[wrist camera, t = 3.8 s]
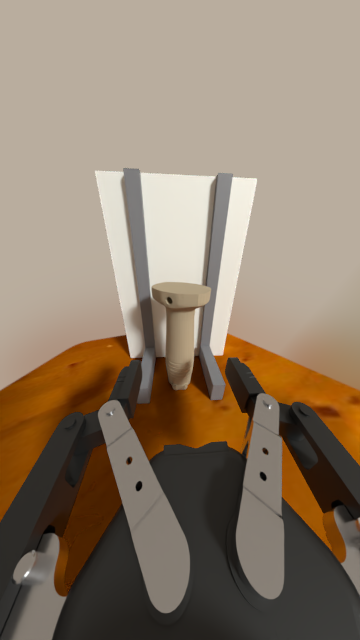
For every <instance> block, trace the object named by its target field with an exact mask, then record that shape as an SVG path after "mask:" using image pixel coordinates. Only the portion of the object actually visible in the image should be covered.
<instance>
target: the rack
mask: <svg viewBox="0 0 360 640" xmlns="http://www.w3.org/2000/svg"><path fill="white" fill-rule="evenodd" d="M123 170H124V172H111V171H95V175H96V180H97V185H98V190H99V195H100V201H101V206H102V210H103V216H104V221H105V227H106V232H107V237H108V242H109V247H110V253H111V258H112V263H113V268H114V273H115V279H116V284H117V289H118V294H119V300H120V304H121V310H122V315H123V320H124V326H125V331H126V336H127V341H128V346H129V352H130V357H131V358H143V359H142V363H141V366H142V382H141V386H140V390H139V395H138V399H137V403H138V404H141V403H150V397H151V390H152V382H153V375H154V368H155V361H156V357H165V350H166V308H165V306H164V305H162V304H160V303H159V302H157V301H156V300H155V299H154V298H153V297H152V288H151V287H152V286H153V285H155V284H158V283H163V282H184V283H193V284H199V285H203V286H207V287H210V288H211V294H210V300H209V302H208V303H207V304H205V305H204V306H202V307H199V308H196V309H195V316H194V356H199V358H200V362H201V366H202V370H203V373H204V377H205V381H206V384H207V388H208V392H209V396H210V399H211V400H219V399H222V397H223V393H224V388H225V383H224V380H223V378H222V375H221V373H220V370H219V368H218V365H217V363H216V361H215V358H214V356H213V355H223V351H224V346H225V340H226V335H227V330H228V324H229V320H230V315H231V309H232V305H233V300H234V295H235V290H236V285H237V279H238V275H239V270H240V264H241V259H242V254H243V249H244V244H245V239H246V234H247V228H248V224H249V219H250V213H251V209H252V204H253V199H254V194H255V188H256V183H257V179H254V178H233V174H227V173H218V175H217V176H216V177H214V176H193V175H173V174H153V173H152V174H151V173H140V171H139V169H129V168H128V169H127V168H124V169H123Z"/></svg>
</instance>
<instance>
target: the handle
mask: <svg viewBox="0 0 360 640" xmlns="http://www.w3.org/2000/svg"><path fill="white" fill-rule="evenodd" d="M151 288H152V297H153V298H154V299H155V300H156V301H157V302H159V303H160V304H162V305H164V306H165V308H166V350H165V358H166V368H167V373H168V380H169V383H170V384H171V385H172V388H173V389H174V390H179V389H182V390H185V389H186V388H187V385H188V384H189V383H190V380H191V374H192V370H193V364H194V316H195V309H196V308H199V307H202V306H204V305H205V304H207V303H208V302H209V300H210V294H211V288H210V287H207V286H203V285H199V284H193V283H184V282H163V283H158V284H155V285H153V286H152V287H151Z"/></svg>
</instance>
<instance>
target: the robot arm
mask: <svg viewBox="0 0 360 640" xmlns="http://www.w3.org/2000/svg"><path fill="white" fill-rule="evenodd" d="M225 374H226V377H227V379H228V382H229V384H230V386H231V389H232V391H233V393H234V396H235V398H236V400H237V402H238V405H239V407H240V409H241V412H242V413H248V416H249V417H248V421H247V426H246V431H245V435H244V440H243V444H242V447H241V451H240V453H239V452H238V451H236V450H235V449H233V448H230V447H228V445H227V442H226V441H224V442H211V443H209V444H206V445H204V446H202V447H199V448H196V449H195V448H191V447H188V446H184V445H180V444H177V445H164V451H162V452H160V453H158V454H156V455H155V456H154V457H153V458H152V459H151V460H150V461H148V459H147V457H146V455H145V453H144V450H143V448H142V446H141V444H140V442H139V440H138V438H137V436H136V434H135V431H134V430H133V428H132V427H131V425H130V423H129V421H128V420H129V418H133V417H134V412H135V408H136V404H137V399H138V395H139V390H140V386H141V382H142V366H141V361H140V360H132V361H131V362H130V365H129V367H124V368H123V369H122V370H121V372H120V374H119V376H118V379H117V382H116V384H115V386H114V388H113V391H112V393H111V395H110V398H109V400H108V402H106V403H105V404H104V405H103V406H102V407H101V408H100V409H99V410H97V411H95V412H92V413H89V414H86V415H84V416H83V414H82V413H80V412H75V413H72V414H70V415H68V416H66V417H65V418H64V419H63V420H62V421H61V422H60V423H59V425H58V426H57V428H56V430H55V431H54V433H53V435H52V436H51V438H50V440H49V441H48V443H47V445H46V446H45V448H44V450H43V451H42V453H41V455H40V456H39V458H38V460H37V462H36V463H35V465H34V467H33V468H32V470H31V472H30V473H29V475H28V477H27V478H26V480H25V482H24V483H23V485H22V487H21V488H20V490H19V492H18V494H17V495H16V497H15V499H14V500H13V502H12V504H11V505H10V507H9V509H8V510H7V512H6V514H5V515H4V517H3V519H2V520H1V522H0V640H360V466H359V465H358V463H357V462H356V461H355V460H354V459H353V457H352V456H351V455H350V454H349V453H348V451H347V450H346V449H345V448H344V447H343V445H342V444H341V443H340V442H339V441H338V439H337V438H336V437H335V436H334V435H333V433H332V432H331V431H330V430H329V429H328V427H327V426H326V425H325V424H324V423H323V421H322V420H321V419H320V418H319V417H318V415H317V414H316V413H315V412H314V411H313V410H312V409H311V408H310V407H309V406H307V405H305V404H303V403H301V402H294V403H293V404H292V405H291V406H290V405H286V404H282V403H279V402H277V401H276V400H275V399H274V398H273V397H271V396H270V395H268V394H266V393H265V392H264V390H263V389H262V387H261V386H260V384H259V383H258V381H257V380H256V378H255V377H254V375H253V373H252V372H251V370H250V369H249V367H247V366H246V365H245V364H244V363H240V361H239V359H238V358H228V360H227V365H226V369H225ZM279 435H280V436H279ZM281 436H282V438H283V440H284V442H285V443H286V445H287V447H288V449H289V451H290V453H291V454H292V456H293V458H294V460H295V462H296V464H297V466H298V467H299V469H300V471H301V473H302V475H303V477H304V478H305V480H306V482H307V484H308V486H309V488H310V489H311V491H312V493H313V495H314V497H315V499H316V500H317V502H318V504H319V506H320V508H321V510H322V512H323V513H324V515H323V525H324V529H325V531H326V536H327V539H328V541H329V543H330V544H331V547H332V551H331V550H330V549H329V548H328V547H327V546H326V545H325V543H324V542H323V541H322V540H321V539H320V538H319V537H318V536H317V535H316V534H315V533H314V531H313V530H312V529H311V528H310V527H309V526H308V525H307V524H306V523H305V522H304V521H303V519H302V518H301V517H300V516H299V515H298V514H297V513H296V512H295V511H294V510H293V509H292V507H291V506H290V505H289V504H288V503H287V502H286V501H285V500H284V499H283V498H282V438H281ZM104 443H106V445H107V452H108V455H109V459H110V462H111V465H112V469H113V472H114V476H115V479H116V482H117V486H118V489H119V493H120V496H121V500H122V505H121V506H120V508H119V509H118V511H117V513H116V514H115V516H114V517H113V519H112V521H111V522H110V524H109V525H108V527H107V529H106V530H105V532H104V533H103V535H102V537H101V538H100V540H99V542H98V543H97V545H96V546H95V548H94V550H93V551H92V553H91V554H90V556H89V558H88V559H87V561H86V562H85V564H84V566H83V567H82V569H81V570H80V572H79V574H78V575H77V577H76V579H75V581H74V583H73V585H72V586H71V588H70V591H69V593H68V592H67V591H66V588H65V569H66V565H67V560H68V554H69V547H68V543H67V541H66V540H65V539H64V538H62V537H63V534H64V531H65V528H66V525H67V522H68V519H69V516H70V513H71V511H72V508H73V505H74V502H75V499H76V496H77V493H78V490H79V488H80V485H81V482H82V479H83V476H84V473H85V470H86V467H87V465H88V462H89V459H90V456H91V453H92V450H93V448H95V447H97V446H100V445H102V444H104Z"/></svg>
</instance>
